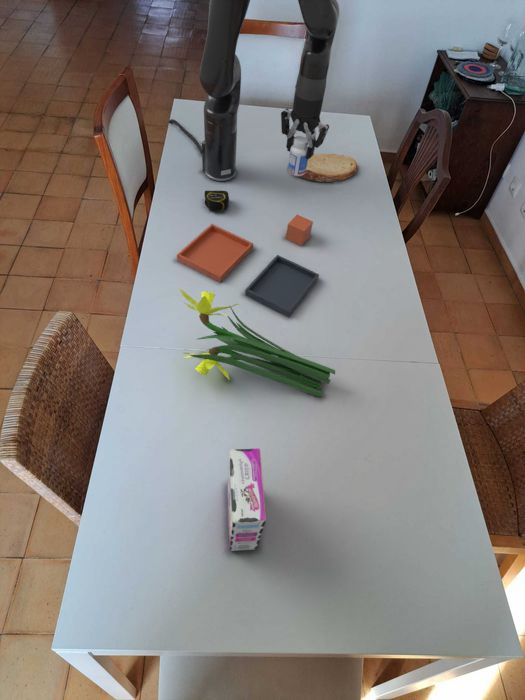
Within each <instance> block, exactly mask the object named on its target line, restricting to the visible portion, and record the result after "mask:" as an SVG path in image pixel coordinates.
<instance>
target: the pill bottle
mask: <svg viewBox="0 0 525 700" xmlns="http://www.w3.org/2000/svg"><path fill="white" fill-rule="evenodd" d="M294 137H295V138H294V144H293V145H292V146H291V149H290V152H289V156H288V164H287V172H288V173H289V174H290V175H292V176H295V177H297V176H302V175H304V174H305V172H306V167H307V161H308V159H306V154H307V148H308V146H309V145H308V140H307V139H306V136H304V135H298V136H294Z"/></svg>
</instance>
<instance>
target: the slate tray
mask: <svg viewBox="0 0 525 700" xmlns="http://www.w3.org/2000/svg"><path fill="white" fill-rule="evenodd" d="M319 276H320V274H319V273H317V272H315V271H313V270H311V269H309V268H306V267H305V266H302V265H301V264H298V263H296V262H294V261H292V260H290V259H287V258H285V257H284V256H281V255H280V254H279V255H278V254H276V256H275V257H274V258H273V259H271V261H269V263H268V265H267V266H266V267H265V268H264V269H263V270H262V271H261V272H260V273H259V274H258V275H257V276H256V277H255V279H253V280H252V281H251V283H250V284H249V285H248V286H247V287H246V288H245V289H244V291H245V293H244V296H245V297H248V298H250V299H252V300H254V301H256V302H257V303H259V304H262V305H263V306H265V307H267V308H269V309H271V310H273V311H275V312H277V313H279V314H281V315H283V316H285V317H287V318H289V317H290V316H291V315H292V314H293V313H294V311H295V310H296V309H297V307H298V306H299V305H300V304H301V302H302V301H303V300H304V299H305V297H306V296H307V295H308V293H309V292H311V290H312V288H313V287H314V286H315V284H316V283H317V282H318V281H319V278H320V277H319Z"/></svg>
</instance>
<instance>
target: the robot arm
mask: <svg viewBox="0 0 525 700" xmlns="http://www.w3.org/2000/svg"><path fill="white" fill-rule="evenodd" d="M297 1H298V2H297V3H298V5H299V9H300V10H299V11H300V13H301V17H302V20H303V23H304V26H305V28H306V36H305V43H304V46H303V49H302V52H301V56H300V62H299V69H298V74H297V78H296V82H295V86H294V87H295V88H294V89H295V90H294V97H293V103H292V109H291V110H290V109H289V108H285V109H284V110H282V111H281V112H280V120H281V121H280V122H281V123H280V124H281V127H280V128H281V134H282V135H285V136H286V146H285V147H286V151H287V152H289V153H290V149H291V146H292V145H293V144H294V138H295V137H296V136H295V135H296V134H297V132H301V133H303V134H305V137H306V139H307V140H308V148H307V154H306V159H309V158H311V157H312V156H313V154H315V149H318V148H319V147H321V145H323V143H324V141H325V139H326V136H327V134H328V132H329V129H330V125H329V124H327V123H326V124H324V123H322V122H321V113H322V108H323V103H324V99H325V94H326V88H327V78H328V73H329V67H330V61H331V56H332V55H331V54H332V53H331V52H332V48H333V47H332V46H333V43H334V39H335V35H336V30H337V27H338V23H339V18H340V5H339V2H338V0H297ZM250 3H251V0H209V4H208V5H209V6H208V8H209V9H208V20H207V32H206V39H205V43H204V49H203V54H202V57H201V61H200V67H199V72H198V73H199V76H198V77H199V82H200V85H201V88H202V89H203V91H204V92H205V94H206V95H205V96H206V97H205V100H204V101H205V102H204V105H203V131H204V140H203V141H202V142H201V145H200V143H199V142H198V140H197V139H196V138H195V137H194V136H193V135H192V134H191V133H190V132H189V131H187V129H185V127H183V125H181V124H180V123H179V122H178V121H177V120H176V119H174V118H173V119H169V120H168V123H169V124H175V125H176V126H177V127H178V128H179V129H180V130H181V131H182V132H183V133H184V134H185V135H186V136H187V137H189V139H191V141H192V142H193V143H194V145H195V146H196V148H197V149H198V151H199V153H200V155H201V156H202V157H201V160H202V161H201V164H202V173H204V174H205V176H206V177H207V178H208V179H210V180H211V181H216V182H228V181H231V180H232V179H233V178H235V177H236V174H237V168H236V166H237V141H238V139H237V137H238V112H239V108H240V101H241V86H242V65H241V61H240V59H239V57H238V55H237V54H236V52H237V51H236V50H237V45H238V40H239V36H240V34H241V30H242V28H243V25H244V22H245V19H246V16H247V13H248V10H249V6H250ZM290 119H291V121H292V123H293V124H292V126H291V125H290V123H291V122H290ZM290 126H291V127H290ZM317 128H318V136H316V135H317V131H316V129H317Z"/></svg>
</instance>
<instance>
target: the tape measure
mask: <svg viewBox="0 0 525 700" xmlns="http://www.w3.org/2000/svg"><path fill="white" fill-rule="evenodd" d="M229 204H230V197H229V192H228V191H227V190H205V191H204V205H205V206H206V208H207V209H208V210H209V211H213V212H223V211H224V210H226V209H228V207H229Z"/></svg>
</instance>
